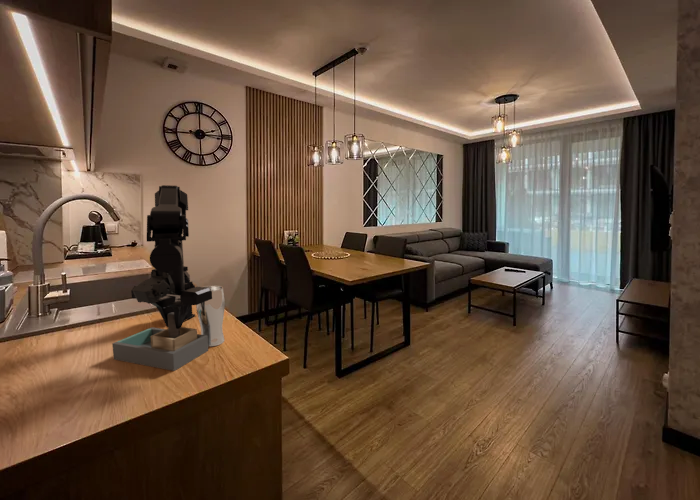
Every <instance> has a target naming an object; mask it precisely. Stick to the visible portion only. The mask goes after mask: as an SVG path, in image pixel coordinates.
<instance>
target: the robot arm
mask: <svg viewBox="0 0 700 500" xmlns="http://www.w3.org/2000/svg"><path fill="white" fill-rule="evenodd" d="M188 198H189V196H188V194H187V193H186V192H185V191H183V190H181V188H180V186H178V185H166V184H165V185H159V186H158V190H157V191H156V192H155V193H154V207H153V206H152V208H151V209H150V212H149V214H147V215H146V242H154V248H153V249H152V250H151V252H150V255H149V262H150V264H151V265H150V266H152V267H153V268H154V269H151V271H150V277H149V278H147V279H145V280H143V281H142V282H141V283H139V284H136V285H134V286H133V287H132V289H131V293H130V294H131V299H136V301H137V302H138V303H147V304H148V305H152V306H154V307H156V308H157V311H158V312H159V314H160V316H161V318H162V320H163V322H164V324H165V326H166V328H168V316H167V314H168V313H172V312H174V318H175V325H176V329H179V328H181V327H183V323H184V321H187V320H190V319H192V318H194V317H196V314H195V313H194V314H193V306H196V305H198V304H200V303H203V302H205V301H208V300H210V299H212V291H211V290H210V289H209V288H206V287H203V286H196V285H195V284H194V283H193V281H191V276H190V274H189V272H188V270H189V269H188V268H189V267H188V266H185V264H184V247H183V241H186V240H187V237H188V238H189V236H190V232H189V230H190V229H189V219H188V218H187V211H189V199H188Z"/></svg>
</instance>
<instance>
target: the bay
mask: <svg viewBox="0 0 700 500" xmlns="http://www.w3.org/2000/svg"><path fill="white" fill-rule="evenodd" d="M166 329H167V328H166ZM166 329H165V328H159V327H153V326H152V327H149V328H147V329H145V330H142V331H139V332H137V333H135V334H132V335H129V336H126V337H125V338H122V339H120V340H117V341H115V342H113V343H112V354H113V355H112V356H113V360H114V361H115V360H116V361H120V362H125V363H131V364H135V365H142V366H146V367H151V368H157V369H163V370H167V371H173V372H175V371H177V370H178V369H180V368H182V367H184V366H185V365H187V364H188V363H191V362H192V361H194V360H195V359H196V358H198V357H200V356H201V355H203V354H205V353H207V352H208V351H209V347H208V336H207V335H201V333H200V334H198V333H197V339H196V340H194V341H192V342H190V343H188V344H187V345H185V346H183V347H181V348H179V349H177V350H175V351H167V350H161V349H155V348H151V337H150V336H152V335H154V334H156V333H159V332H161V331H163V330H166Z"/></svg>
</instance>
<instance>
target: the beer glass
mask: <svg viewBox="0 0 700 500" xmlns="http://www.w3.org/2000/svg"><path fill="white" fill-rule="evenodd" d="M202 287H206V288H209V289H210V290H211V291H212V299H210V300H208V301H205V302H203V303H200V304H198V305H195V306H196V307H195V308H196V313H197V318H198V321H199V327H200V331H201V332H200V335H207V336H208V348H212V347H217V346H220V345H222V344H223V343H224V342H225V336H224V332H223V331H224V330H223V324H224V323H223V322H224V316H225V307H226V306H225V302H226V301H225V294H224V292H225V291H224V287H223V286H222V285H217V284H216V285H215V284H213V285H212V284H211V285H204V286H202Z"/></svg>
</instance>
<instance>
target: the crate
mask: <svg viewBox="0 0 700 500" xmlns="http://www.w3.org/2000/svg"><path fill="white" fill-rule="evenodd" d="M167 316H168V327H167V328H166V330H163V331H161V332H159V333H156V334H154V335H152V336H150V337H151V348H155V349H161V350H167V351H175V350H177V349H179V348H181V347H183V346H185V345H187V344H188V343H190V342H192V341H194V340H196V339H197V334H198V328H193V327H185V326H181V328H179V329H176V325H175V318H174V312H172V313H168V314H167Z"/></svg>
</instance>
